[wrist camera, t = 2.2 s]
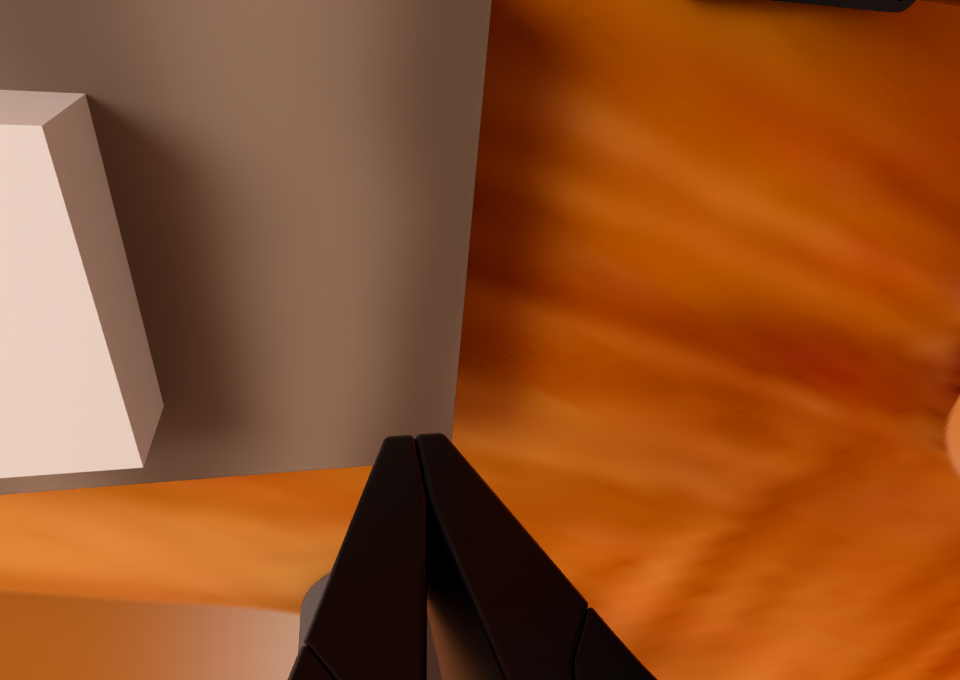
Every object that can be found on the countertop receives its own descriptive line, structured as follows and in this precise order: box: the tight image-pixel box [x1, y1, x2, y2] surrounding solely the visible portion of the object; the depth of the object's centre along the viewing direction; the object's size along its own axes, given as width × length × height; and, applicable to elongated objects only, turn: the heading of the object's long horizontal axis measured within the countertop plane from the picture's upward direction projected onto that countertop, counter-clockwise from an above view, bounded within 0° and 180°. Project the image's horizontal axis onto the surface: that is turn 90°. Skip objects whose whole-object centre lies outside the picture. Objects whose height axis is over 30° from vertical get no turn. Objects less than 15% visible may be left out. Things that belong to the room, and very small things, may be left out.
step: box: [0, 0, 492, 495], centre depth 14 cm, size 14×12×3 cm
